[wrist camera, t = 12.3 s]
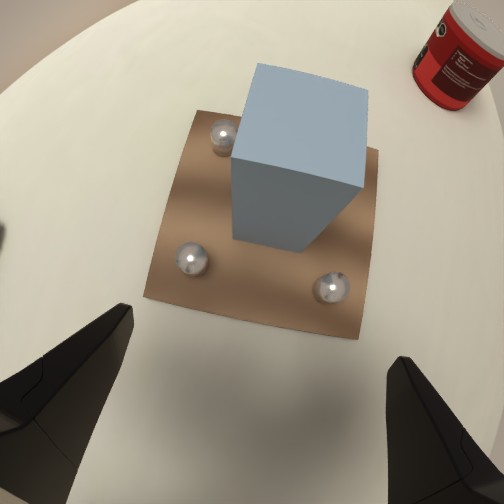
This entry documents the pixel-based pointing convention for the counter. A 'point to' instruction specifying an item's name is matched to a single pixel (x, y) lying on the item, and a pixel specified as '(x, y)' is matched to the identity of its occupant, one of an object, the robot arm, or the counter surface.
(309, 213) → the slate blue block
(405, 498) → the robot arm
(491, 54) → the canned food
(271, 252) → the peg stand
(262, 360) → the counter surface
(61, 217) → the counter surface
